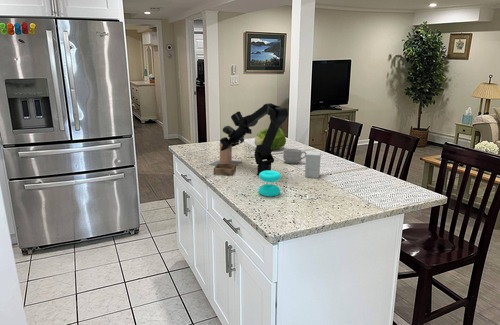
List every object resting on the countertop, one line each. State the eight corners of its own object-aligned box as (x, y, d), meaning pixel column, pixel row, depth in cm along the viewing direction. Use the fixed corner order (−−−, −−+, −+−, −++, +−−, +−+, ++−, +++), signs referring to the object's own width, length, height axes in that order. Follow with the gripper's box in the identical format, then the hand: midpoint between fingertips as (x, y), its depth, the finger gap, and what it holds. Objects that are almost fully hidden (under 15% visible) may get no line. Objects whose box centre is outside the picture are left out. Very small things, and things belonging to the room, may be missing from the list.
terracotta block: (231, 162, 222) (231, 140, 218) (227, 164, 217) (227, 142, 214) (224, 161, 224) (224, 139, 220) (219, 162, 220) (219, 141, 216)
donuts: (276, 169, 177) (284, 175, 167) (275, 189, 179) (283, 196, 170) (256, 170, 174) (262, 176, 165) (255, 190, 177) (262, 198, 168)
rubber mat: (242, 162, 223) (242, 161, 223) (229, 168, 212) (229, 167, 212) (222, 159, 230) (222, 158, 230) (209, 164, 218) (209, 164, 218)
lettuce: (253, 150, 263) (248, 131, 256) (279, 139, 268) (275, 120, 261) (263, 159, 250) (258, 140, 242) (290, 147, 255) (286, 128, 247)
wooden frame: (235, 170, 208) (236, 164, 207) (232, 175, 198) (232, 169, 197) (217, 169, 209) (217, 163, 209) (213, 174, 200) (213, 168, 199)
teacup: (280, 163, 223) (280, 150, 221) (287, 159, 232) (287, 146, 230) (302, 166, 217) (302, 153, 215) (308, 162, 226) (309, 149, 224)
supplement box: (319, 174, 203) (321, 151, 199) (318, 178, 196) (320, 155, 192) (306, 173, 205) (307, 150, 201) (304, 177, 198) (305, 154, 194)
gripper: (239, 119, 220) (224, 136, 228) (222, 124, 204) (206, 141, 212) (251, 134, 219) (235, 150, 227) (234, 139, 203) (218, 156, 211)
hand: (223, 149), depth 219 cm, fingers open, 5 cm apart
